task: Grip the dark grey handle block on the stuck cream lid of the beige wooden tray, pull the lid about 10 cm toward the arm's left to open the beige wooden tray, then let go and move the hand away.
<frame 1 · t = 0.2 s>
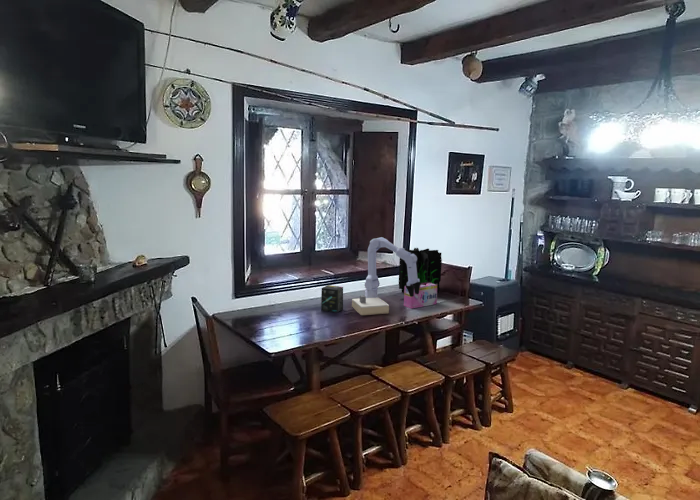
hand: (414, 295, 291), 11 cm above the table, tool pointing down, fingers open, 7 cm apart
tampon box: (332, 310, 292), on the table
lid: (370, 299, 292), point 7 cm above the table, slide at 0.0 cm
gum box: (420, 305, 308), on the table
beige wooden tray: (369, 310, 293), on the table
decorative plant: (418, 290, 346), on the table
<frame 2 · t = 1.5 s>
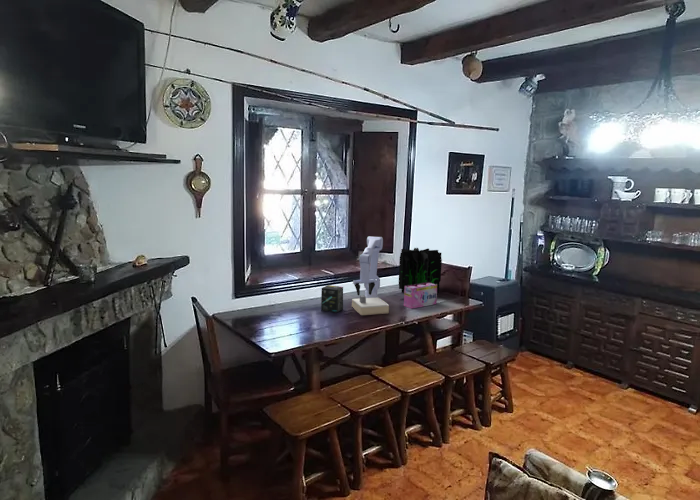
hand: (364, 294, 289), 10 cm above the table, tool pointing down, fingers open, 7 cm apart
nothing on the table moved.
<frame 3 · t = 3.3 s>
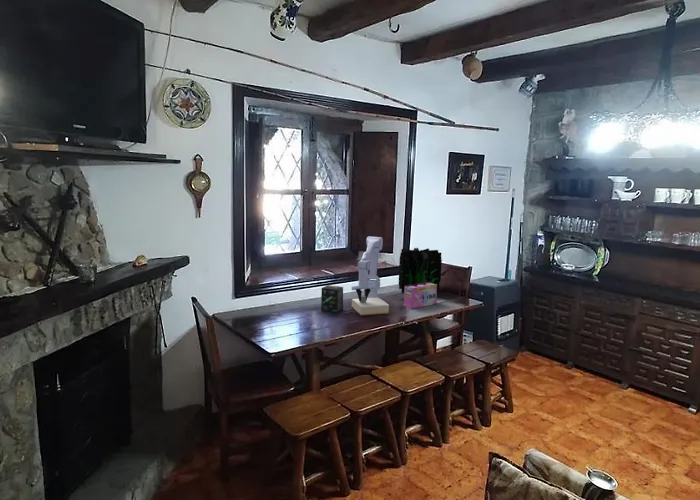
hand: (362, 300, 290), 6 cm above the table, tool pointing down, fingers closed on lid, 3 cm apart
lid: (370, 299, 292), point 7 cm above the table, slide at 0.0 cm, touching gripper
everything else where it was.
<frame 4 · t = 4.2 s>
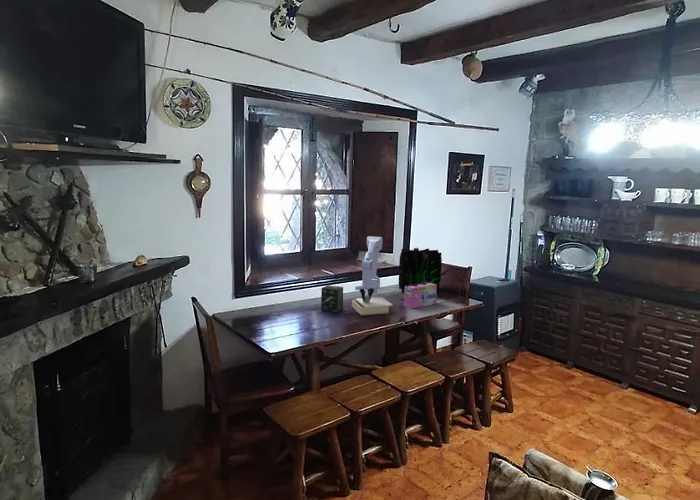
hand: (366, 300, 291), 6 cm above the table, tool pointing down, fingers closed on lid, 3 cm apart
lid: (373, 299, 293), point 7 cm above the table, slide at 2.4 cm, touching gripper
everything else where it was.
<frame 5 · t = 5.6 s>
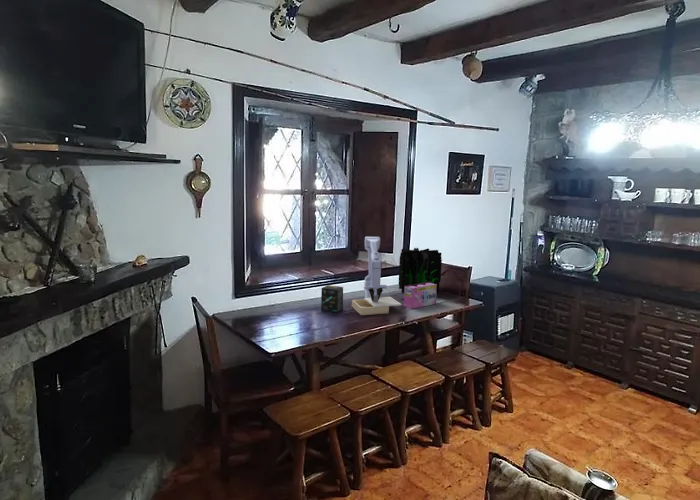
hand: (375, 300, 293), 6 cm above the table, tool pointing down, fingers closed on lid, 3 cm apart
lid: (382, 298, 294), point 7 cm above the table, slide at 8.3 cm, touching gripper
everything else where it was.
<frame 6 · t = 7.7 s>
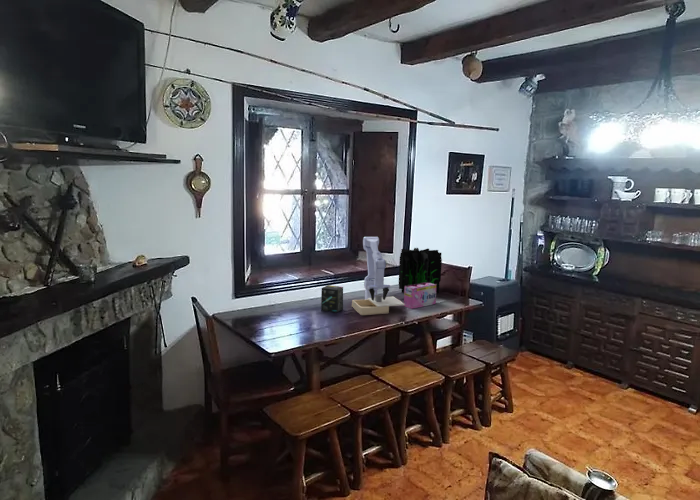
hand: (378, 299, 294), 6 cm above the table, tool pointing down, fingers open, 7 cm apart
lid: (385, 298, 295), point 7 cm above the table, slide at 10.5 cm
everything else where it was.
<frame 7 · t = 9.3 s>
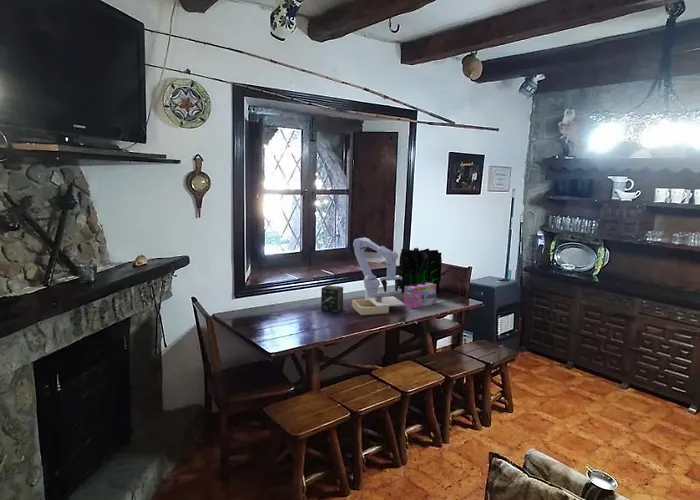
hand: (390, 291, 299), 10 cm above the table, tool pointing down, fingers open, 7 cm apart
nothing on the table moved.
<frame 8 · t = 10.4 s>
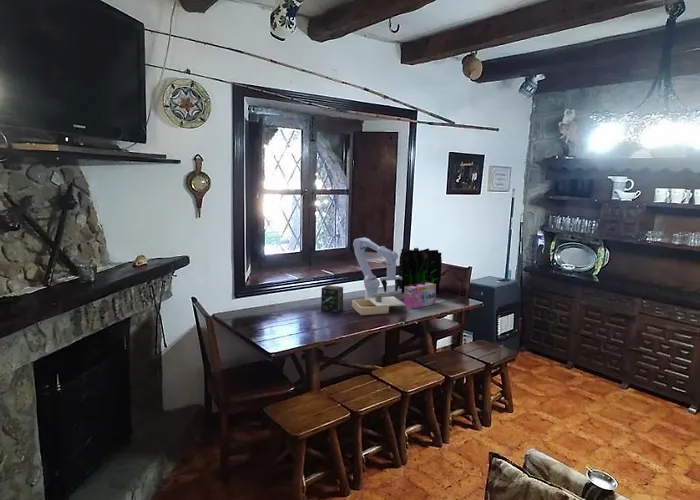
hand: (390, 291, 299), 10 cm above the table, tool pointing down, fingers open, 7 cm apart
nothing on the table moved.
at the end: lid slide at 10.5 cm; the gripper is holding nothing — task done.
